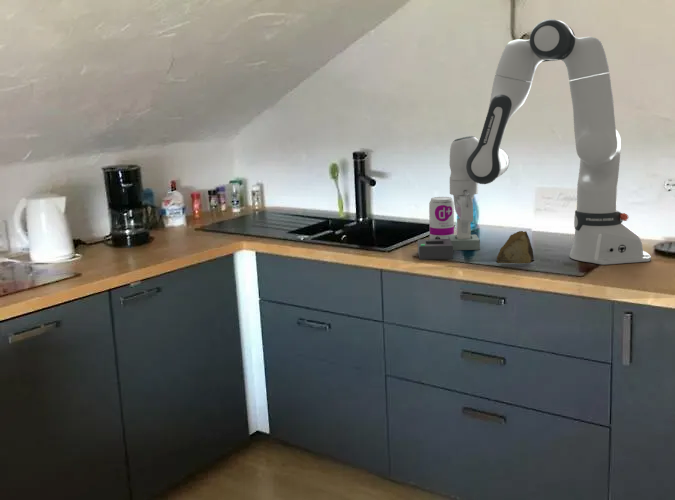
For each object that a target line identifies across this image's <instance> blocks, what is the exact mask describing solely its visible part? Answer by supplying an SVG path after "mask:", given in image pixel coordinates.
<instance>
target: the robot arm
mask: <svg viewBox="0 0 675 500" xmlns="http://www.w3.org/2000/svg"><path fill="white" fill-rule="evenodd" d="M560 60H561V61H562V62H563V64H565V67H566V70H567V75H568V76H567V78H568V84H569V90H570V91H569V92H570V99H571V104H572V113H573V114H572V115H573V116H572V117H573V129H574V130H573V131H574V132H573V133H574V140H575V142H574V143H575V149H576V151H575V152H576V154H577V156H578V157H579V159H580V162H579V169H578V170H579V173H578V179H577V187H576V190H577V191H576V193H577V194H576V209H575V210H574V219H573V220H574V222H573V225H574V226H573V227H574V236H573V242H572V246H571V249H570V253H569V258H571V259H572V260H576V261H580V262H586V263H592V264H597V265H602V266H604V265H605V266H606V265H616V264H630V263H631V264H632V263H643V262H644V263H645V262H650V261H651V260H652V258H651V257H652V255H650V254H649V253H648V252H647V251H644V249H643V241H642V238H641V237H640V236H639V235H638V234H637V233H636V232H634V231H633V230H632V229H630V228H629V227H628V226H627V225H625V224H624V223H623V222H625V221H626V222H627V221H628V220H629V215H628V214H627V213H624V212H621V211H619V210H617V204H618V203H617V202H618V186H619V185H618V184H619V183H618V182H619V175H620V174H619V173H620V161H621V160H620V159H621V151H622V150H621V149H622V148H621V147H622V138H621V135H620V132H619V131H618V130H617V129H616V120H615V119H616V118H615V117H616V116H615V108H614V107H615V105H614V103H615V102H614V95H613V87H612V80H611V76H610V75H611V74H610V68H609V62H608V59H607V54H606V52H605V48H604V45H603V44H602V41H600V39H599V38H596V37H593V36H583V37H576V34H575V32H574V30H573V29H572V28H571V26H569V24H567V23H566V22H564V21H562V20H559V19H558V20H557V19H555V18H548V19H544V20H542V21H540V22H538V23H537V24H536V25H535V26H534V27H533V28H532V30H531V32H530V34H529V39H518V38H517V39H514V40H510V41H509V42H508V43H507V44H506V45H505V46H504V49H503V51H502V53H501V56H500V58H499V61H498V63H497V67H496V70H495V74H494V79H493V83H492V89H491V93H490V99H489V100H490V101H489V106H488V110H487V113H486V117H485V120H484V124H483V128H482V131H481V133H480V137H479V139H478V138H477V137H476V136H473V135H469V136H464V137H460V138H456V139H454V140H453V141H452V142H451V144H450V149H449V169H450V176H449V194H450V195H451V196H453V202H454V212H455V213H456V215H457V217H458V219H460V220H461V222H462V233H467V232H468V223H469V222H471V223H472V222H473V221H474V202H473V201H474V199H475V195H478V194H479V185H489V184H491V183H493V182H494V181H495V180H496V179H498V178H499V177H501V176H502V175H504V174H505V173H506V172H507V171H508V168H509V165H510V157H509V155H508V154H507V152H506V151H505V150H504V149H503V148H501V145H502V142H503V139H504V135H505V132H506V129H507V126H508V124H509V121H510V119H511V118H512V117H513V115H514V114H515V113H516V112H517V111H518V110H519V109H520V108H521V107H522V106H523V105H524V104H525V103H526V99H527V98H528V95H529V93H530V90H531V88H532V84H533V80H534V77H535V73H536V70H537V67H539V64H540V63H544V62H553V61H554V62H555V61H556V62H557V61H560Z"/></svg>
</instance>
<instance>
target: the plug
mask: <svg viewBox="0 0 675 500" xmlns="http://www.w3.org/2000/svg"><path fill="white" fill-rule="evenodd" d="M471 224H472V222H469V223H468V232H467V233H462V222H461V220H460V219H459V218H456V235H457V239H471V235H472V232H471V228H472V227H471Z"/></svg>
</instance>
